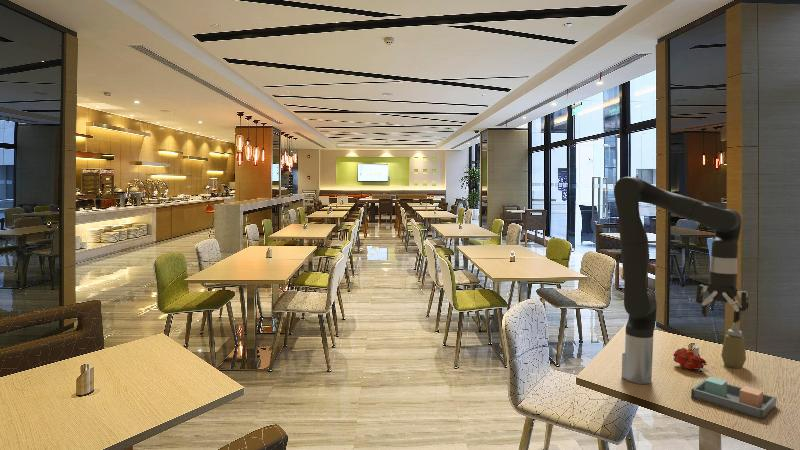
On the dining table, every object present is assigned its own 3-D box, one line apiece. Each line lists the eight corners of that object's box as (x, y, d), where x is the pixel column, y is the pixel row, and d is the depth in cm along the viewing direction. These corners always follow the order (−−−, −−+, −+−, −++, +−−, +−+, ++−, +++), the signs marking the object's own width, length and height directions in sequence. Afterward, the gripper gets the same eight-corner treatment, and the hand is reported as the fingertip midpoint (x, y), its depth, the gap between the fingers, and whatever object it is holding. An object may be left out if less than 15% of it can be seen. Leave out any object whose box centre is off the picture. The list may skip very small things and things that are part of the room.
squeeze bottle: (735, 362, 194) (737, 318, 192) (750, 369, 185) (753, 324, 184) (716, 362, 193) (718, 319, 192) (730, 370, 185) (733, 325, 184)
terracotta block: (738, 404, 155) (739, 390, 155) (743, 400, 158) (744, 385, 158) (757, 410, 151) (758, 395, 151) (762, 405, 155) (763, 391, 154)
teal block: (704, 394, 163) (705, 380, 163) (710, 390, 166) (710, 376, 166) (721, 399, 159) (721, 385, 159) (726, 395, 162) (727, 381, 162)
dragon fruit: (671, 366, 193) (703, 380, 184) (665, 359, 188) (698, 373, 179) (680, 348, 195) (712, 361, 186) (675, 340, 190) (708, 353, 180)
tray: (691, 397, 162) (691, 388, 162) (706, 386, 171) (707, 378, 171) (762, 419, 147) (763, 410, 146) (775, 406, 155) (776, 397, 155)
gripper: (694, 269, 158) (692, 316, 160) (745, 275, 147) (742, 326, 149) (703, 266, 163) (700, 312, 164) (753, 272, 152) (750, 322, 153)
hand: (720, 319), depth 157 cm, fingers open, 8 cm apart
